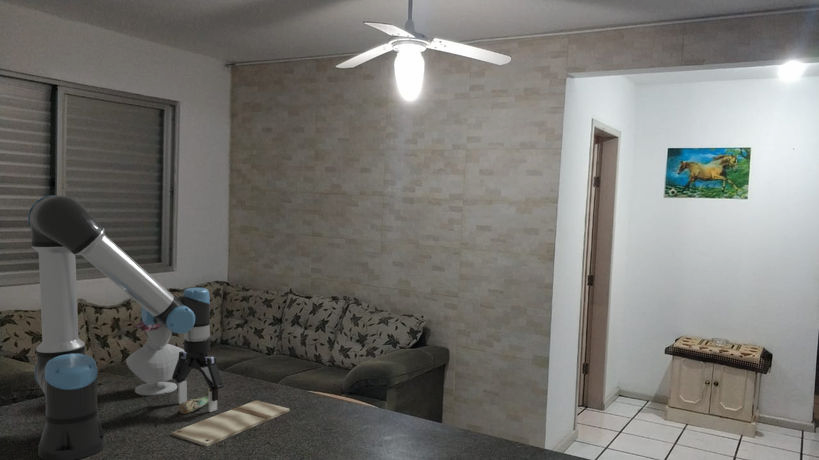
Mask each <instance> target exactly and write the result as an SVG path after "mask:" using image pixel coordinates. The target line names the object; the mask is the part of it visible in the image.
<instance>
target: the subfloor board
mask: <svg viewBox="0 0 819 460" xmlns="http://www.w3.org/2000/svg"><path fill="white" fill-rule="evenodd" d="M290 410H291V409H290V408H288V407H284V406H281V405H277V404H272V403H268V402H265V401H261V400H253V401H250V402H249V403H248V402H247V403H245V404H242V405H240V406H236V407H233V408H232V409H230V410H228V411H227V410H226V411H224V412H221V413H219V414H217V415H214V416H211V417H209V418H205V419H204V420H201V421H198V422H195V423H193V424H190V425H187V426H184V427H182V428H179V429H177V430H175V431H172V432H171V434H170V435H171V436H173V437H176V438H179V439H182V440H186V441H189V442H192V443H195V444H198V445H202V446H204V447H209V446H212V445H214V444H216V443H219V442H221V441H224V440H226V439H228V438H231V437H233V436H235V435H237V434H240V433H242V432H244V431H247V430H249V429H251V428H253V427H256V426H259V425H261V424H263V423H266V422H268V421H271V420H272V419H273V420H274V419H275V418H278V417H279V416H281V415H282V416H283V415H284V414H287V413H289V412H290Z"/></svg>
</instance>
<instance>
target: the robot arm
mask: <svg viewBox="0 0 819 460" xmlns="http://www.w3.org/2000/svg"><path fill="white" fill-rule="evenodd" d="M27 222H28V226H29V227H30V233H31V239H30V240H31V249H33V250H34V251H36V252H37V253H38V267H39V289H40V290H39V291H40V294H39V295H40V311H41V312H40V314H41V315H40V316H41V335H42V336H41V337H42V338H41V339H42V340H41V343H40V344H39V345H38V346H36V350H35V352H36V353H35V355H36V363H35V367H34V370H33V372H34V373H33V374H34V378H35V383H37V385H38V386H39V388H40V389H41V391H42V392H43V394H44V396H45V424H44V427H43V431H42V434H41V437H40V439H39V444H38V446H37V447H38V450H37V451H38V452H37V454H38V457H39V458H41V459H42V460H79V459H83V458H86V457H90V456H92V455H94V454H97V453H98V452H100V451H101V450H102V449H104V448H105V446H106V436H105V433H104V429H103V428H102V425H101V421H100V419H99V417H98V374H99V373H98V371H99V370H98V367H97V361H96V360H95V358H93V357H92V356H90V355H88V354H86V343H85V342H84V341H83V340H81V339H80V338H79V320H78V315H79V314H78V313H79V312H78V294H77V293H78V291H77V289H78V288H77V267H76V265H77V263H76V256H82V258H84V259H85V260H86V261H88V262H89V263H90V264H91V265H93V266H94V267H95V268H96V269H97V270H98V271H100V272H101V273H102V274H103V275H104V276H105V277H106V278H108V279H109V280H110V281H111V282H113V283H114V284H115V285H116V286H117V287H118V288H119V289H120V290H122V291H123V292H124V293H125V294H126V295H128V296H129V297H130V298H131V299H132V300H133V301H135V302H136V304H138V305H139V306H141V308H140V315H141V321H143V323H144V324H145V325H156V324H160V325H162V326H164V327H166V328H167V329H169V330H170V331H171V332H172V334H173V333H174V334H180V335H181V334H183V338H184V339H185V340H184V341H183V350H184V351H182V352H179V359H178V362H177V364H176V367H175V370H174V373H173V376H172V379H171V380H175V381H176V383H177V384H176V385H177V389H176V390H177V393H178V394H177V396H178V397H177V400H178V401H177V404H179V405H180V404H181V403H183V402H186V401H188V391H187V390H188V381H187V377H188V376H189V374H190V373H191V371H192V370H193V369H195V370H197V371H199V372H200V373H201V374H202V376H203V378H204V381H206V383H207V386H208V387H209V388H208V389H210V390H209V391H208V398H209V403H208V412H209V413H212V412H214V411H217V410H218V400H219V390H220V389H223V388H224V383H223V380H222V376H221V373H220V370H219V368H218V365H217V357H216V356H215V355H214V356H209V355H208V352H210V349H211V339H210V336H211V333H210V332H211V331H210V329H211V328H210V327H211V326H210V318H211V317H210V315H211V313H210V311H211V309H210V307H211V302H210V301H211V300H210V299H211V298H210V297H211V296H210V291H209V290H208V289H207V288H205V287H189V288H186V289H183V293H182V295H181V296H174V295H173V294H172V293H171V292H170V291H169V290H167V289H166V287H164V285H162V284H161V283H160V282H159V281H158V280H156V279H155V278H154V277H153V276H152V275H151V274H150V273H149V272H148V271H146V270H145V269H144V268H143V267H142V266H141V265H140V264H139V263H138V262H137V261H135V260H134V259H133V258H132V257H130V255H128V254H127V252H125V251H124V250H123V249H122V248H121V247H119V245H117V244H116V243H115V242H114V241H113V240H112V239H111V238H109V237H108V236H107V234H105V228H104V227H103V225H101V224H100V223H99V222H98V221H97V220H96V219H95V218H94V217H93V215H91V214H90V213H89V212H88V210H87V209H86V208H85V207H84V206H83V205H82V204H81V203H80V202H79V201H77V200H76V199H74V198H72V197H69V196H63V195H56V194H53V195H47V196H43V197H41V198H39V199H38V200H36V201H35V202H34V203H32V205H31V206H30V208H29V211H28V214H27Z"/></svg>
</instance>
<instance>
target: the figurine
mask: <svg viewBox="0 0 819 460" xmlns="http://www.w3.org/2000/svg"><path fill="white" fill-rule="evenodd" d="M209 390H210V388H208V389H207V390H206V392H205V396H202V397H200V398H194V399H192V398H191V399H188V400H187V401H186V402H183V403H181V404H179V408H178V411H179V412H180V414H182V415H187V414H191V413H193V412H195V411H197V410H199V409H201V408H202V407H204V406H206V405H209V398H208V391H209Z"/></svg>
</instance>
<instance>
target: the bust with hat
mask: <svg viewBox="0 0 819 460" xmlns="http://www.w3.org/2000/svg"><path fill="white" fill-rule="evenodd" d="M133 329H140V330H141V331H145V333H146V336H147V340H146V342H145V343H144V345H143V346H141V347H140V348H138V349H136V350H135V351H134V352H132V353H131V354H129V356H128V357H127V358H126V359H125V364H126V366H127V367H128V368H129V370H131V372H132V373H133V374H134V375H135V376H137V377H138V378H139V379H141V381H143V382H144V384H140V385H139V386H136V387H135V389H134V392H135V393H136V394H137V395H141V396H159V395H166V394H169V393H172V392H174V391H175V390H177V384H176V383H175V382H171V381H170V380H173V379H172V376H173V373H174V370H175V367H176V364H177V362H178V359H179V352H182V351H184V348H181V347H179V346H176V345H173V344H170V343H169V342H170V339H171V337H172V335H173V332H171V331H170V330H169V329H167V328H166V327H164V326H162V325H160V324H156V325H145V324H144V323H143V321H142V320H141V321H140V322H139V323H137V324H136V325H134V327H133ZM165 393H166V394H165Z"/></svg>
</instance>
